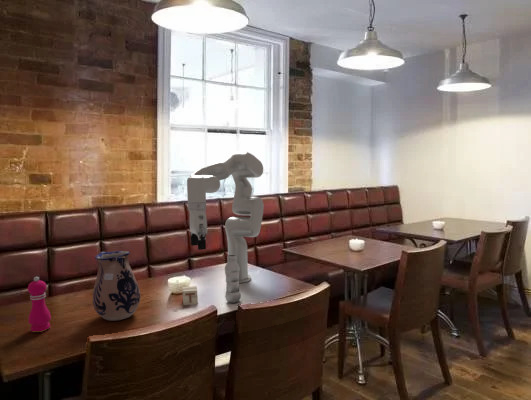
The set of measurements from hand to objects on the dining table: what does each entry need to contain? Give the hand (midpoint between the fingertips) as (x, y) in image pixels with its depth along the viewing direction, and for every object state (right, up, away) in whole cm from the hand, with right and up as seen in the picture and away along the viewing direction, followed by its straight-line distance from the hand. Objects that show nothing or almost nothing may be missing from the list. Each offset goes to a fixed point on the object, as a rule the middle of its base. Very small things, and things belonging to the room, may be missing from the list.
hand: (198, 247), depth 176 cm
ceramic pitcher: (-31, -26, -10) cm, 42 cm away
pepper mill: (-54, -28, -22) cm, 65 cm away
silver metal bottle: (+14, -24, +3) cm, 28 cm away
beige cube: (-4, -24, +4) cm, 25 cm away
